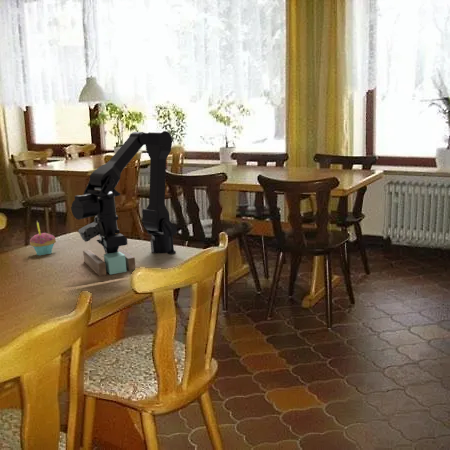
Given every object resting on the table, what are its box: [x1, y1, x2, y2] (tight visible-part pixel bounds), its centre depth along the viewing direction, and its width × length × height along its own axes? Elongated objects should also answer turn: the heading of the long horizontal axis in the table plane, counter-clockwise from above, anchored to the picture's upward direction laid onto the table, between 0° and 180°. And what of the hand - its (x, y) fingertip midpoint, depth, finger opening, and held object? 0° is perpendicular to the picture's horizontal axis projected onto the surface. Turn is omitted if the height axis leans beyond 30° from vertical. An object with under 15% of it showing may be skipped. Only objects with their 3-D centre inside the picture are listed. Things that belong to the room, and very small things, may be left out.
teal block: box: [103, 252, 127, 275], centre depth 193 cm, size 5×5×5 cm
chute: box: [82, 246, 137, 277], centre depth 199 cm, size 11×18×4 cm, turn 26°
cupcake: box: [29, 220, 57, 256], centre depth 219 cm, size 9×8×12 cm
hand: (110, 263), depth 197 cm, fingers closed
